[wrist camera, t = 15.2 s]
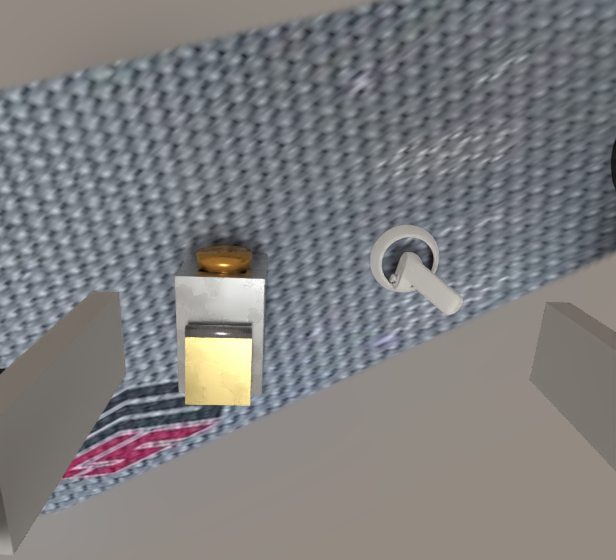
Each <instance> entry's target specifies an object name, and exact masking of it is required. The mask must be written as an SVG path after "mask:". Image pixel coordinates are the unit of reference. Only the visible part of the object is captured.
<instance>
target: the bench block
mask: <svg viewBox="0 0 616 560" xmlns="http://www.w3.org/2000/svg"><path fill="white" fill-rule="evenodd" d="M266 278H267V254H252V258H251V267H249V268H248V269H245V270H242V271H241V273H220V272H208V271H207V270H203V269H201V268H199V267H198V266H197V251H191V253H190V254H189V256H188V257H187V259H186V260H185V262H184V263H183V265H182V266H181V268H180V269H179V271H178V272H177V274H176V275H175V293H176V322H177V351H178V379H179V393H185V326H186V325H219V326H252V362H251V394H253V395H261V394H262V380H263V366H264V347H265V313H266Z"/></svg>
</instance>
